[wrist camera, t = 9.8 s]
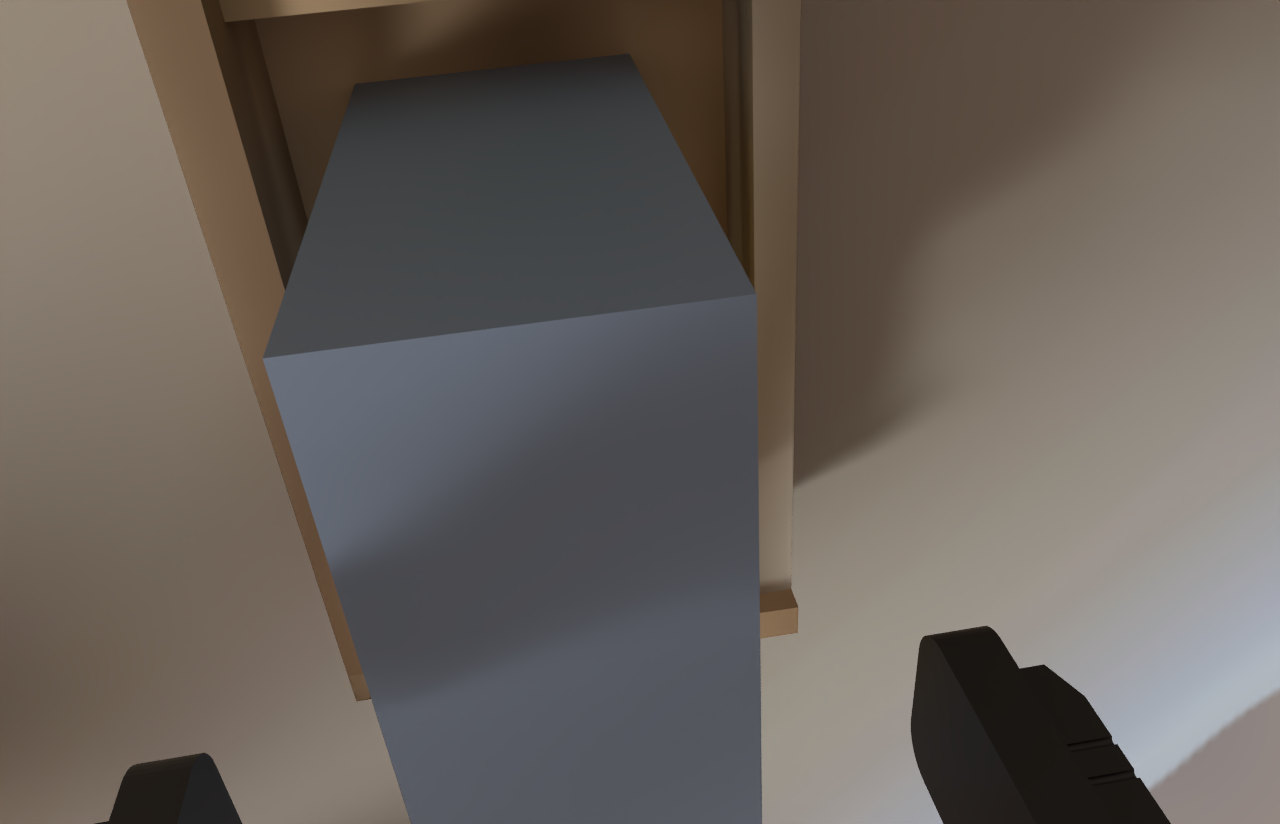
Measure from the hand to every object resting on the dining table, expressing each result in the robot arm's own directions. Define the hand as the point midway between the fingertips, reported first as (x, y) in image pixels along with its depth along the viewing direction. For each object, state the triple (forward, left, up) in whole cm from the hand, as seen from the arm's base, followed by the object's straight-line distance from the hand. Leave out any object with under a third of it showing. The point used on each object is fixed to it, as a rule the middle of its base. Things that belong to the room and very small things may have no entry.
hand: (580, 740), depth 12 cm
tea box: (0, 0, -12) cm, 12 cm away
